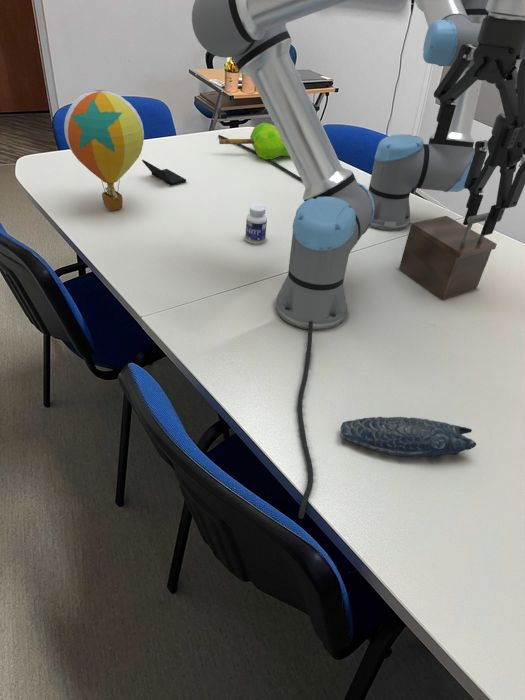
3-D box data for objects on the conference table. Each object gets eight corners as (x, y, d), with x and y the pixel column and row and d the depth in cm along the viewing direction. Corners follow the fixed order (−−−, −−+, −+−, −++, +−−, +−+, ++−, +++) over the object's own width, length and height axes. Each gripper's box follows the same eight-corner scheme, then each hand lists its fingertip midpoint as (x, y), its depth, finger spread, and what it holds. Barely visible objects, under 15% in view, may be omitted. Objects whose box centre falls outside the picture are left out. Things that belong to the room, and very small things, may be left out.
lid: (495, 249, 118) (508, 215, 113) (459, 258, 113) (471, 223, 108) (444, 220, 128) (455, 188, 123) (409, 227, 123) (419, 194, 118)
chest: (476, 289, 125) (492, 247, 118) (441, 299, 120) (456, 257, 113) (432, 260, 135) (444, 220, 128) (398, 269, 130) (409, 228, 123)
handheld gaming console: (190, 175, 164) (173, 153, 156) (179, 193, 163) (161, 172, 155) (166, 170, 170) (147, 148, 162) (155, 188, 169) (136, 167, 161)
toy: (64, 203, 145) (44, 85, 127) (127, 189, 156) (117, 79, 137) (97, 229, 134) (80, 105, 116) (162, 213, 145) (156, 96, 126)
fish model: (474, 470, 81) (484, 449, 78) (339, 453, 82) (344, 431, 79) (465, 439, 86) (475, 417, 83) (339, 423, 87) (344, 401, 84)
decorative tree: (216, 119, 186) (297, 119, 192) (216, 149, 193) (294, 148, 198) (222, 134, 173) (309, 133, 178) (222, 165, 179) (306, 163, 185)
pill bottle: (242, 241, 135) (244, 209, 130) (249, 233, 139) (251, 201, 134) (261, 245, 134) (263, 213, 129) (268, 237, 138) (270, 205, 132)
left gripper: (595, 30, 76) (536, 174, 89) (465, 6, 92) (432, 131, 105) (563, 30, 72) (507, 179, 86) (435, 5, 88) (404, 134, 102)
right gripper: (570, 129, 96) (521, 243, 110) (494, 103, 107) (459, 210, 122) (544, 132, 92) (497, 249, 107) (469, 106, 104) (436, 215, 119)
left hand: (466, 153), depth 95 cm, fingers open, 13 cm apart
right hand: (477, 228), depth 114 cm, fingers open, 5 cm apart
